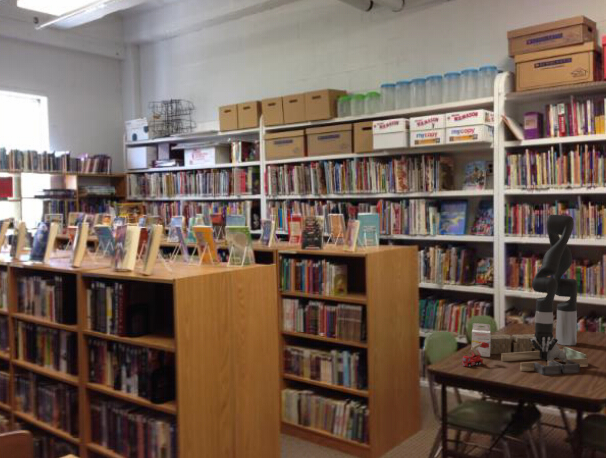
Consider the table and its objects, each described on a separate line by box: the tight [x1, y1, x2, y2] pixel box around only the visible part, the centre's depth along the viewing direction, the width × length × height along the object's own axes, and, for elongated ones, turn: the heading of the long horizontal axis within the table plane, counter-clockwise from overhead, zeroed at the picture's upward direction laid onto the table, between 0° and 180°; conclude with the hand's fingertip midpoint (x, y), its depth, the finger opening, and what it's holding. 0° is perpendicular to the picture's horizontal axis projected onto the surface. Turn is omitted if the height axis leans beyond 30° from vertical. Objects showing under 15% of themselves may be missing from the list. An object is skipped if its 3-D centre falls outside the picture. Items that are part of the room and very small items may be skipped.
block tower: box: [490, 333, 539, 355], centre depth 287 cm, size 8×8×29 cm
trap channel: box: [500, 345, 589, 376], centre depth 262 cm, size 24×32×5 cm
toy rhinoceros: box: [546, 342, 570, 363], centre depth 268 cm, size 7×12×8 cm, turn 73°
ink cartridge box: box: [471, 323, 492, 358], centre depth 281 cm, size 9×5×15 cm, turn 71°
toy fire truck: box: [461, 342, 489, 368], centre depth 266 cm, size 3×14×10 cm, turn 117°
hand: (543, 359), depth 265 cm, fingers closed
